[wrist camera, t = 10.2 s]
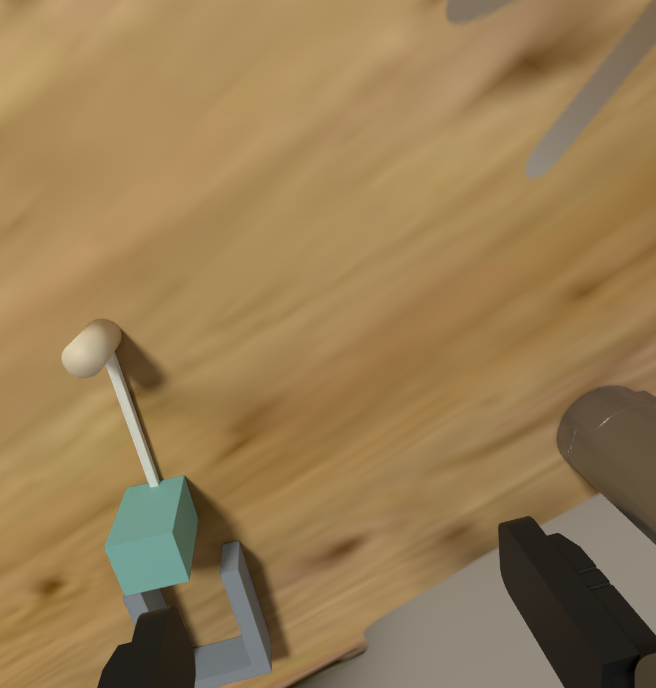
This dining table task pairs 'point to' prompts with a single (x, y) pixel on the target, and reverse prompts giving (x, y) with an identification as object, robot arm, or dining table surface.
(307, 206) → the dining table surface
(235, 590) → the lane
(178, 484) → the tethered block
